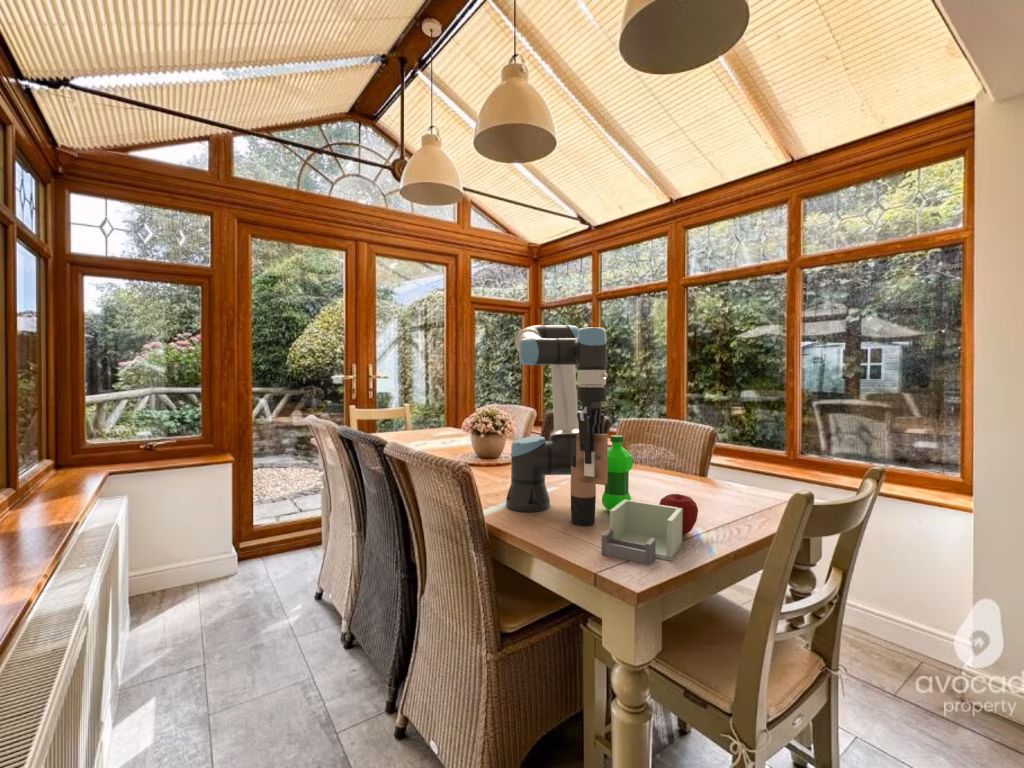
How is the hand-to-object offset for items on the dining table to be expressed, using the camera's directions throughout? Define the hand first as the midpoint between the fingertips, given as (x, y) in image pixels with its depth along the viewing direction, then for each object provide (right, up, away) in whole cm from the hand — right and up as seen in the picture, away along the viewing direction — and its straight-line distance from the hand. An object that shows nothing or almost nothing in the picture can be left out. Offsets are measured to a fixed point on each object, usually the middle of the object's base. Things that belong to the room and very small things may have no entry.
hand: (591, 474), depth 125 cm
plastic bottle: (+13, -18, +31) cm, 38 cm away
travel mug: (+1, -19, +20) cm, 27 cm away
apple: (+26, -19, +10) cm, 34 cm away
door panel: (0, -2, 0) cm, 2 cm away
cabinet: (+13, -19, -2) cm, 23 cm away
